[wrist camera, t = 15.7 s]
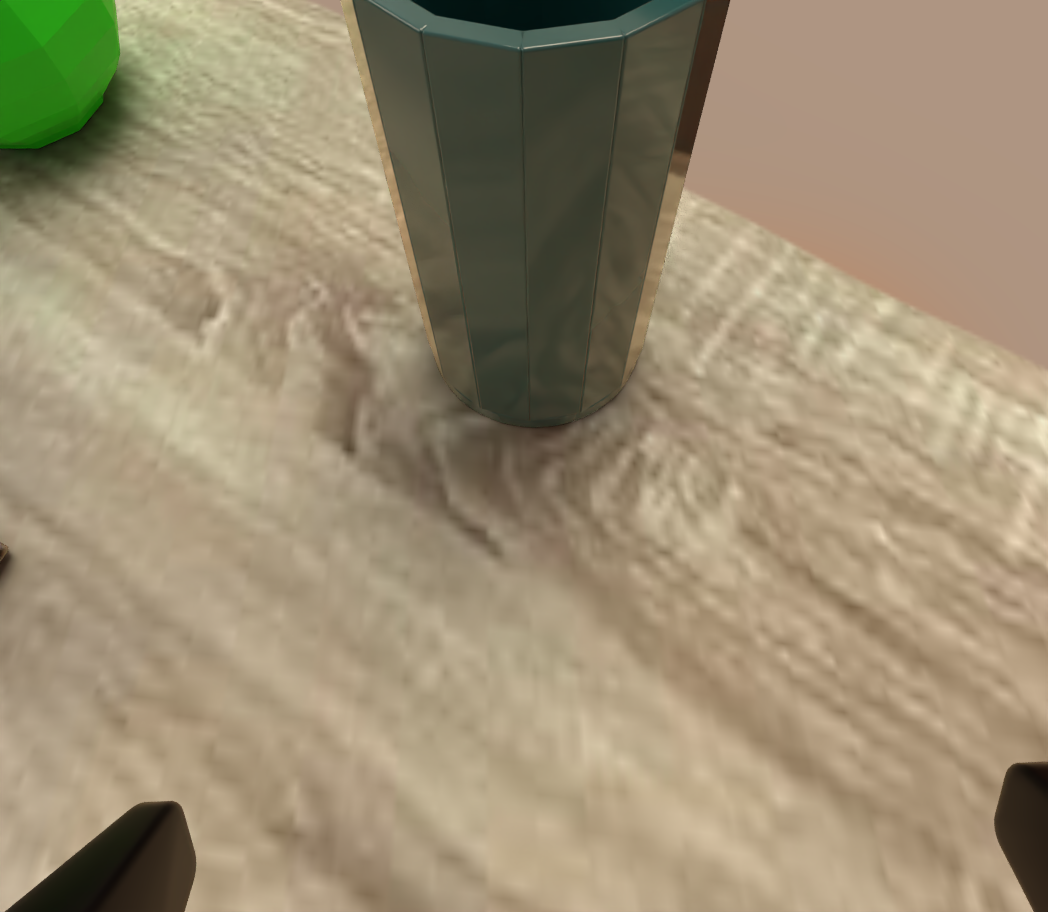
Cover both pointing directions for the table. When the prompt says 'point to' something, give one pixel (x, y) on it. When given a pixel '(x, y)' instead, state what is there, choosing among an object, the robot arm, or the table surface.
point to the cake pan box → (3, 550)
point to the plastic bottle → (53, 67)
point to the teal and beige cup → (535, 180)
